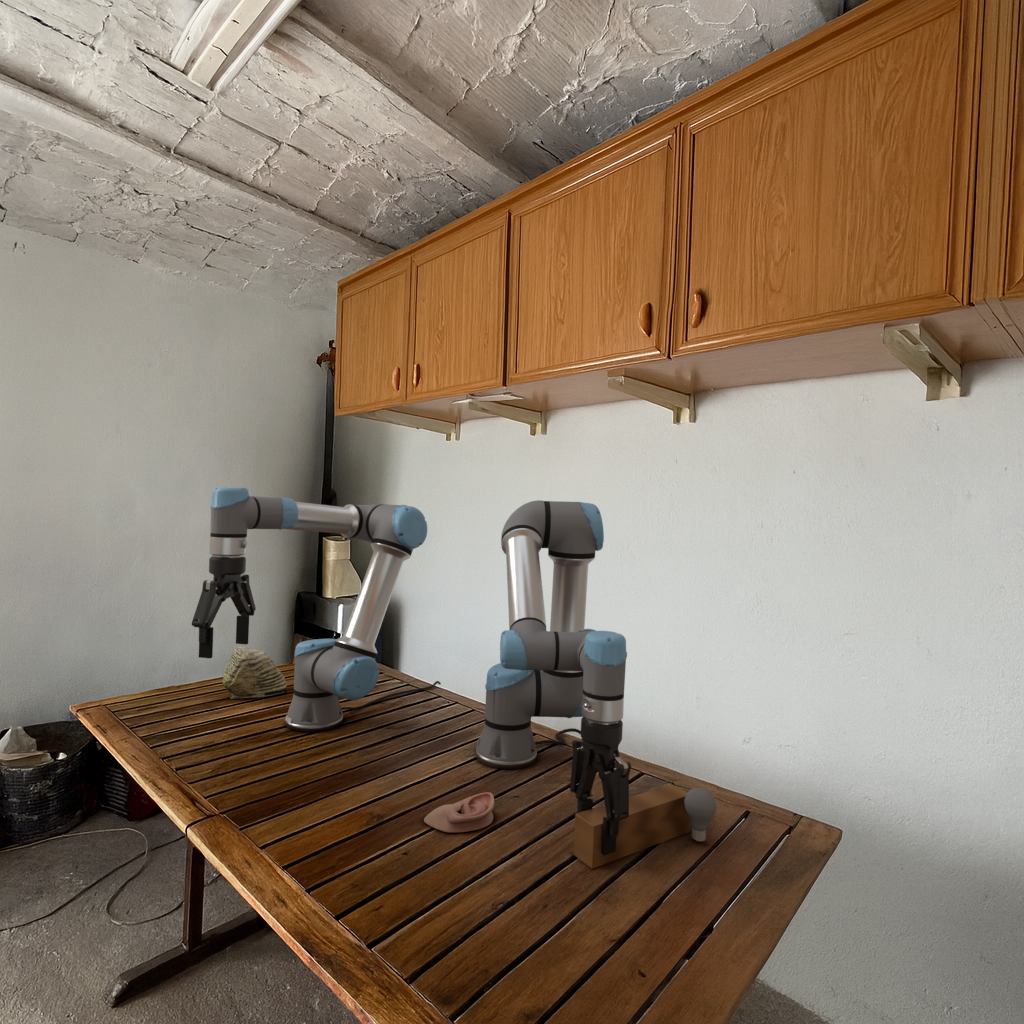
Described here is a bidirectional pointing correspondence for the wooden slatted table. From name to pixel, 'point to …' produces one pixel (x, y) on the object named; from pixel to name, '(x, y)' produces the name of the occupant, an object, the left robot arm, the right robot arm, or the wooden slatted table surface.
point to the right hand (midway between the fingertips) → (596, 843)
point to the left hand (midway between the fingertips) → (224, 650)
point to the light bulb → (700, 811)
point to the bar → (633, 825)
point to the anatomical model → (463, 814)
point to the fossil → (252, 674)
